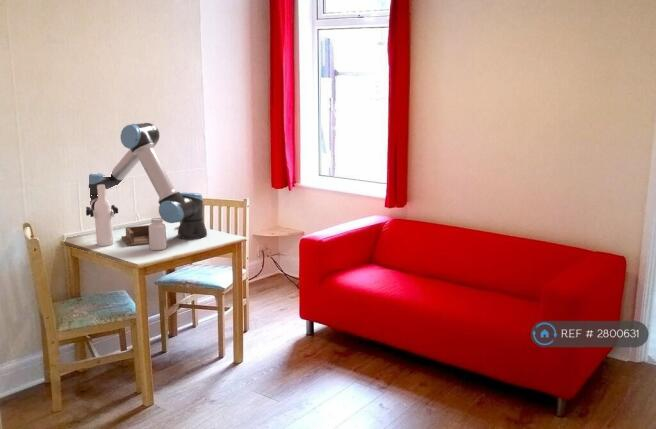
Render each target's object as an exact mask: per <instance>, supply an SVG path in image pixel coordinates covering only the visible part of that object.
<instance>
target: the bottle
mask: <svg viewBox="0 0 656 429" xmlns="http://www.w3.org/2000/svg"><path fill="white" fill-rule="evenodd" d="M97 191H98V200H97V201H96V202H95V205H94V211H95V213H96V218H94V221H95V222H94V225H95V237H96V238H95V239H96V241H95V242H96V245H97V246H98V247H109V246H112V245H113V244H114V234H113V232H114V231H113V220H112V219H113V217H112V215H111V206H112V205H111V203H110V200H108V199H107V196H106V190H105V185H97Z"/></svg>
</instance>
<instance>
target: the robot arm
mask: <svg viewBox="0 0 656 429" xmlns="http://www.w3.org/2000/svg"><path fill="white" fill-rule="evenodd" d="M160 135H161V134H160V131H159V129H158V127H157V126H155V124H153V123H150V122H144V123H143V122H142V123H131V124H127V125H125V126H124V127H123V128H122V130H121V132H120V141H121V144H122V145H123V147H124V148H127V149H129V150H128V151H127V152H126V153H125V154H124V156H123V157H122V158H121V159H120V160H119V162H117V164H116V165H115V166H114V168H112V170H113V171H112V170H111V171H112V174H111V177H103V176H104V174H103V173H100V172H97V173H98V174H92V173H89V174H90V175H89V174H88V175H89V185H88V189H89V188H90V198H91V201H90V205H91V206H90V205H89V206H90V207H89V206H86V208H85V214H86V217H87V216H90V218H93V219H95V218H96V213H95V211H94V205H95V202H96V201H97V200H98V196H97V195H98V191H97V185H105V189H106V190H109V188H110V189H112V188H111V187H113V186H115V185H118V184H119V183H120V182H121V181H122V180H123V179H124V180H125V178H126V176H128V174H129V173H130V172H131V171H132V170H133V168H135V167H136V165H137V164H138V163H139V162H140V164H141V165H142V167H143V169H144V171H145V173H146V175H147V176H148V179H149V181H150V182H151V185H152V186H153V188H154V190H155V192H156V194H157V195H158V197H159V199H158V204H159V206H158V215H159V216H160V218H162V219H163V222H165V223H169V224H175V223H179V226H178V230H177V237H178V238H180V239H184V240H197V239H201V238H206V237H207V235H208V229H207V228H206V226H205V223H204V205H203V204H204V199H203V195H202V193H199V192H180V191H179V190H176V189H175V187H174V185H173V183H172V182H171V180H170V177H169V176H168V174H167V172H166V171H165V168H164V166H163V164H162V162H161V161H160V159H159V157H158V155H157V153H156V150H154V147H156V145H157V144H158V142H159V141H160ZM91 195H92V196H91ZM116 214H119V208H118V207H117V206H115V204H112V205H111V216H112V218H114V217H115V215H116ZM180 221H181V223H180Z"/></svg>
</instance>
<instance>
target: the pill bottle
mask: <svg viewBox="0 0 656 429" xmlns="http://www.w3.org/2000/svg"><path fill="white" fill-rule="evenodd" d="M150 221H151V223H150V224H148V225H149V244H148V245H149V250H150V251H151V250H152V251H162V250H165V249H166V248H167V232H166V231H167V230H166V228H167V227H166V225H165V223H163V222H164V220H163V219H162V218H161V217H153V218H151V220H150Z"/></svg>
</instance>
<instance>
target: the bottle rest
mask: <svg viewBox="0 0 656 429" xmlns="http://www.w3.org/2000/svg"><path fill="white" fill-rule="evenodd" d="M149 225H150V224H147V225H138V226H137V225H136V226H127V227H125V235H123V236H122V235H121V239H122V241H123V243H125V245H126V247H135V246H144V245H149Z"/></svg>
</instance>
